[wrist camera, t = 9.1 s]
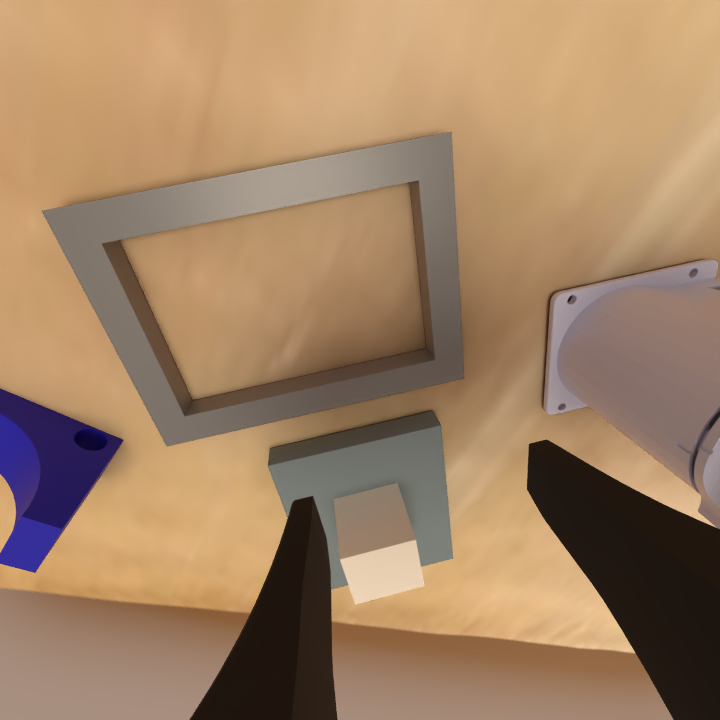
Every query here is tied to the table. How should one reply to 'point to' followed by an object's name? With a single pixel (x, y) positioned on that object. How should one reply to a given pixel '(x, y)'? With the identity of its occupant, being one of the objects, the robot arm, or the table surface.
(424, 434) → the slate pad
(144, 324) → the pocket frame
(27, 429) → the cable clip
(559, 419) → the table surface
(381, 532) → the cream block
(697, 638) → the robot arm
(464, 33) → the table surface
